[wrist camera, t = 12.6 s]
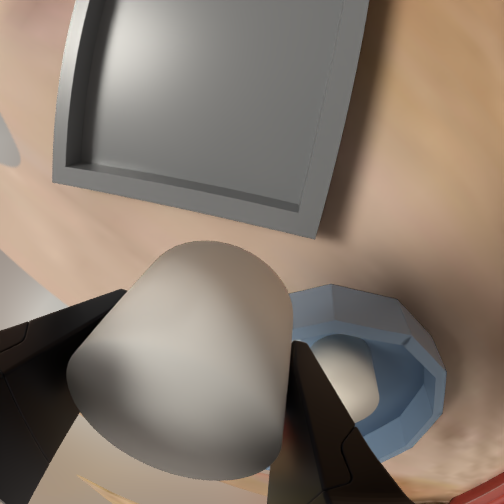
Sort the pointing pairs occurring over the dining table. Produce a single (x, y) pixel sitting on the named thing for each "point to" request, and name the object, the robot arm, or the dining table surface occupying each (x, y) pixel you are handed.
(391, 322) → the glazed bowl
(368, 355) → the pebble sand
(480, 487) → the plant saucer
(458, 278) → the dining table surface
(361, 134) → the dining table surface
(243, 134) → the parts tray
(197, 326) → the pebble grey
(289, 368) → the robot arm
